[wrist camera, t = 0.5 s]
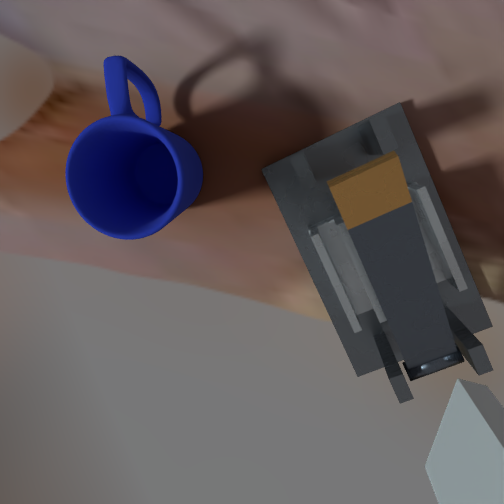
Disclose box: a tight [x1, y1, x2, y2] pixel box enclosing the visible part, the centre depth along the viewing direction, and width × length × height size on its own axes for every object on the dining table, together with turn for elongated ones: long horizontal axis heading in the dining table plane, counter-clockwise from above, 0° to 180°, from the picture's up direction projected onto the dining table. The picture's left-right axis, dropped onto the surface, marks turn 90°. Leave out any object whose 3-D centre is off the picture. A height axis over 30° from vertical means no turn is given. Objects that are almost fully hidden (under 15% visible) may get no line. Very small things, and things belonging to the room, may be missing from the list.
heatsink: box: [261, 102, 493, 403], centre depth 35 cm, size 20×12×9 cm, turn 26°
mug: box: [66, 56, 203, 239], centre depth 35 cm, size 8×12×10 cm
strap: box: [327, 151, 464, 381], centre depth 29 cm, size 19×4×1 cm, turn 25°
